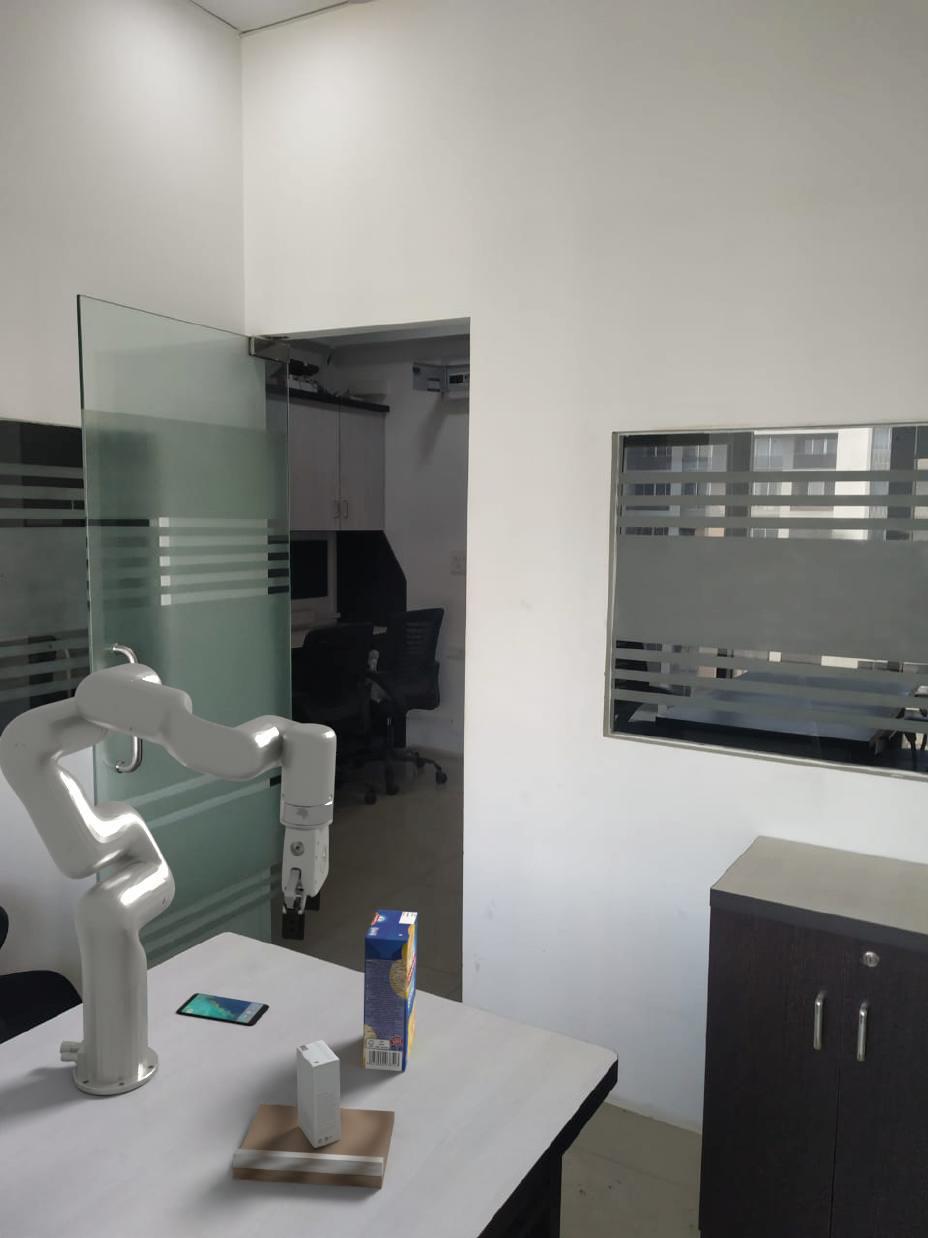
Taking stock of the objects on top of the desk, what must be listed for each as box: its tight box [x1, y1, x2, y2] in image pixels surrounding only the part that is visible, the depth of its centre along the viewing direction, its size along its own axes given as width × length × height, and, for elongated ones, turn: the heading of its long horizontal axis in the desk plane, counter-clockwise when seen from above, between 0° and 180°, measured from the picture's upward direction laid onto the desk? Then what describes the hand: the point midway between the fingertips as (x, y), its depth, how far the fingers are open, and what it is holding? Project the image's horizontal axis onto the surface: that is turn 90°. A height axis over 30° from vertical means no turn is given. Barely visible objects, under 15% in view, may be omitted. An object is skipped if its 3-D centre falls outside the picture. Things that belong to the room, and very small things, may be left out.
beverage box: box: [362, 909, 418, 1072], centre depth 158 cm, size 7×11×22 cm, turn 175°
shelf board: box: [232, 1103, 395, 1189], centre depth 134 cm, size 20×14×4 cm
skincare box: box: [296, 1039, 341, 1148], centre depth 135 cm, size 6×4×12 cm
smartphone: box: [176, 992, 270, 1027], centre depth 170 cm, size 7×1×15 cm
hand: (301, 923), depth 140 cm, fingers open, 9 cm apart
